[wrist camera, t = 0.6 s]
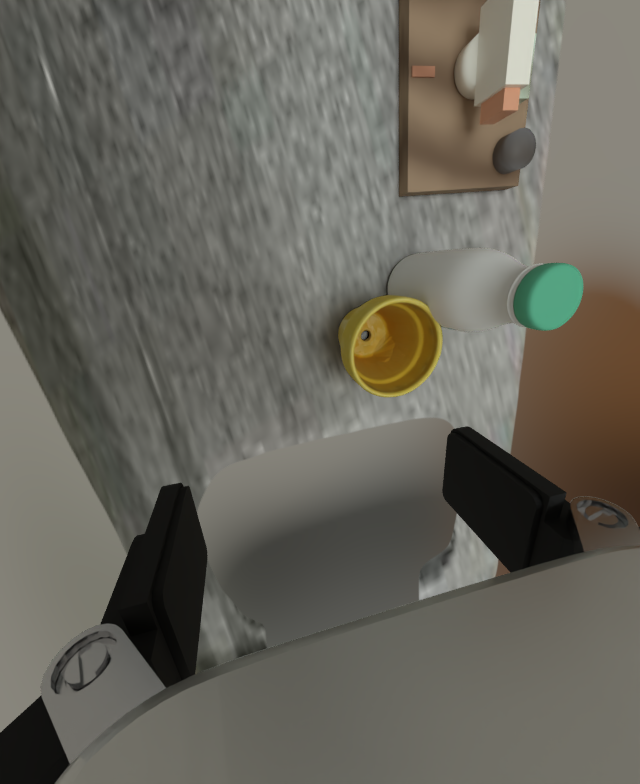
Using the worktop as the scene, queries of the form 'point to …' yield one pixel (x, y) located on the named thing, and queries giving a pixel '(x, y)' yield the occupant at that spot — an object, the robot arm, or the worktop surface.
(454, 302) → the milk bottle
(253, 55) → the worktop surface
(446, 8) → the brown lever switch panel
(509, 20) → the wing knob
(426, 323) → the plant pot
